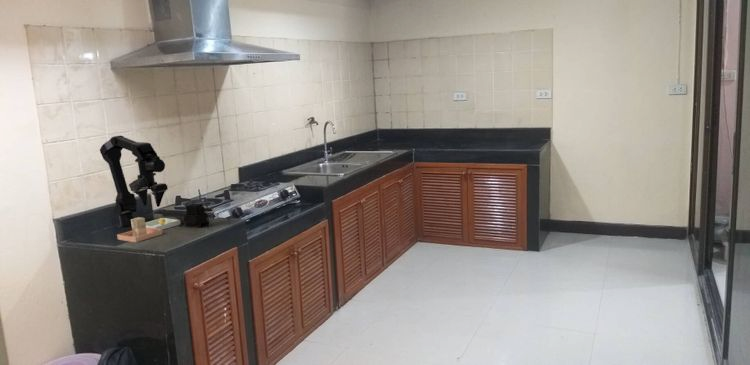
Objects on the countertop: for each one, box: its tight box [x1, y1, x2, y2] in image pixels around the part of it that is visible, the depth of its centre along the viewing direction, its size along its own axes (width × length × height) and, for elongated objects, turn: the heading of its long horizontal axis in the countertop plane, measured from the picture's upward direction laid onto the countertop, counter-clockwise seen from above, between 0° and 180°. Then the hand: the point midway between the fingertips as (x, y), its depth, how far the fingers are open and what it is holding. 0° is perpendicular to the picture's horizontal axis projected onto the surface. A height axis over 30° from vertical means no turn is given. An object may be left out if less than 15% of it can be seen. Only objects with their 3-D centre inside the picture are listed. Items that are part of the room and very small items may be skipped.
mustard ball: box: [158, 217, 166, 225], centre depth 277 cm, size 3×3×3 cm
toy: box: [182, 203, 213, 229], centre depth 268 cm, size 8×14×10 cm, turn 66°
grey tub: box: [145, 217, 181, 231], centre depth 273 cm, size 13×13×2 cm
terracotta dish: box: [116, 228, 163, 243], centre depth 257 cm, size 13×13×2 cm
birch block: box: [131, 216, 147, 237], centre depth 257 cm, size 4×4×8 cm
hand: (151, 206), depth 267 cm, fingers open, 9 cm apart
